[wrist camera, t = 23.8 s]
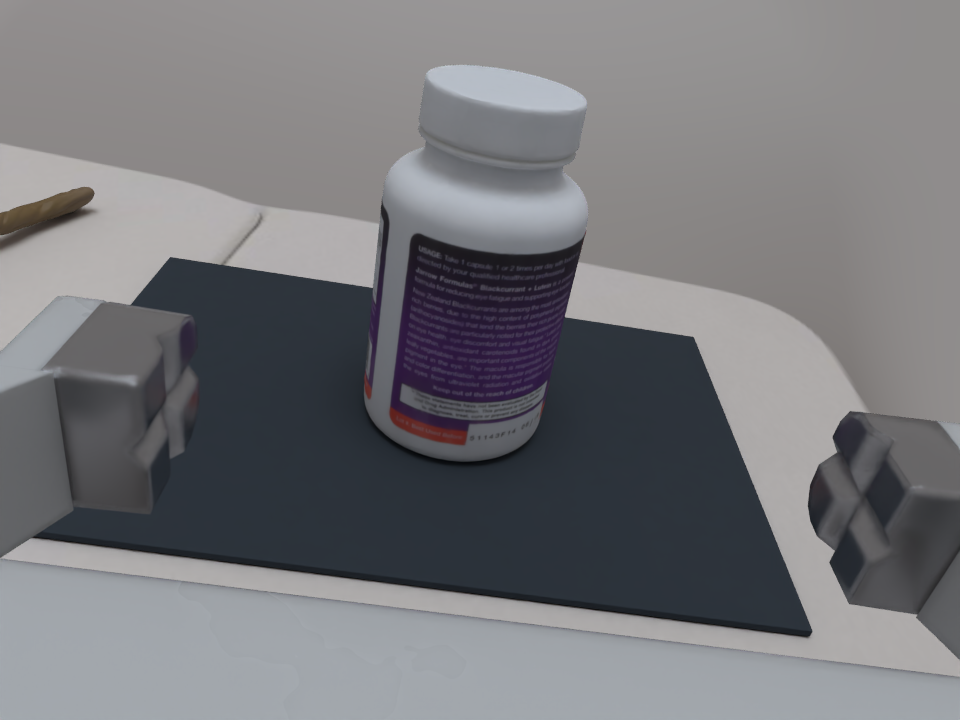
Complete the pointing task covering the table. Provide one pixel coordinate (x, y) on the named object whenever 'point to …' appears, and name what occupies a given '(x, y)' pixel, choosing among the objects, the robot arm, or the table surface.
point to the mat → (455, 468)
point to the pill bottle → (475, 264)
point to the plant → (44, 209)
